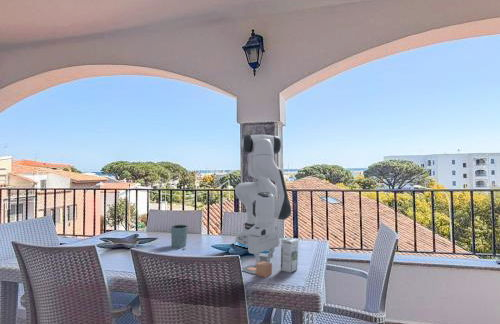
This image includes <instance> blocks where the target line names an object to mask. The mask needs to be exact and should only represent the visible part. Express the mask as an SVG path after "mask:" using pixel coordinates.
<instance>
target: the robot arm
mask: <svg viewBox="0 0 500 324" xmlns="http://www.w3.org/2000/svg"><path fill="white" fill-rule="evenodd" d="M281 148H282V141H281V138H280V136H278V135H272V134H271V135H269V134H264V133H263V134H246V135H244V136H243V138H242V139H241V149H242V151H243V152H244V153H246V154H249V162H248V174H249V175H250V177H252V178H253V179H256V180H257V181H256V182H255V181H254V182H253V181H252V182H251V181H247V182H246V181H245V182H239V183H238V184H237V185H236V186H235V189H234V190H235V191H234V194H235V196H236V198H237V199H238V200H240V201H241V202H242V204H243V206H244V207H245V210H246V211H245V213H246V222H245V223H243V224H242V225H243V226H244V228H242V230H241V231H239V232H238V233H237V234H236V236H235V240H234V241H232V242H231V245H232V244H234V243H236V242H240V243H242V244H245V245H247V246H248V249H247V252H248V254H253V256H254V257H255V263H256V264H257V263H260V262H261V258H260V257H259V255H260V253H264V252H266V251H268V250H269V252H268V253H267V254H268V258H270V259H272V258H274V252H275V248H277V247H279V246H280V245H281V244H280V241H281V240H280V233H279V230H278V227H277V226H276V224H275V223H276V221H275V220H283V221H285V220H287V219H289V217H290V216H291V214H292V205H291V202H290V199H289V196H288V191H287V187H286V182H285V179H284V178H285V177H284V175H283V171H282V168H280V167H278V165H277V164H276V162H275V155H276V154H278V153H280V151H281ZM273 182H274V183H275V184H274V183H273ZM277 193H278V198H276V196H277Z"/></svg>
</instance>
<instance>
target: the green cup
mask: <svg viewBox="0 0 500 324" xmlns="http://www.w3.org/2000/svg"><path fill="white" fill-rule="evenodd" d="M188 229H189V226H188V225H187V224H174V225H171V226H170V236H171V237H170V238H171V248H173V249H174V248H175V249H182V248H186V247H187V242H188V241H187V238H188V231H189V230H188Z"/></svg>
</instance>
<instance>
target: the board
mask: <svg viewBox="0 0 500 324" xmlns="http://www.w3.org/2000/svg"><path fill="white" fill-rule="evenodd" d="M241 269H243V271H242V272H243V273H247V274H250V275H256V265H254V264H249V265H247V266H245V267H241Z"/></svg>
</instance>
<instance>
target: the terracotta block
mask: <svg viewBox="0 0 500 324" xmlns="http://www.w3.org/2000/svg"><path fill="white" fill-rule="evenodd" d="M255 266H256V274H255V275H256V276H259V277H263V278H268V277H269V276H271V275H273V274H272V273H273V268H272V267H273V264H272V262H270V263H269V262H264V261H262V262H260V263H256V264H255Z"/></svg>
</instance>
